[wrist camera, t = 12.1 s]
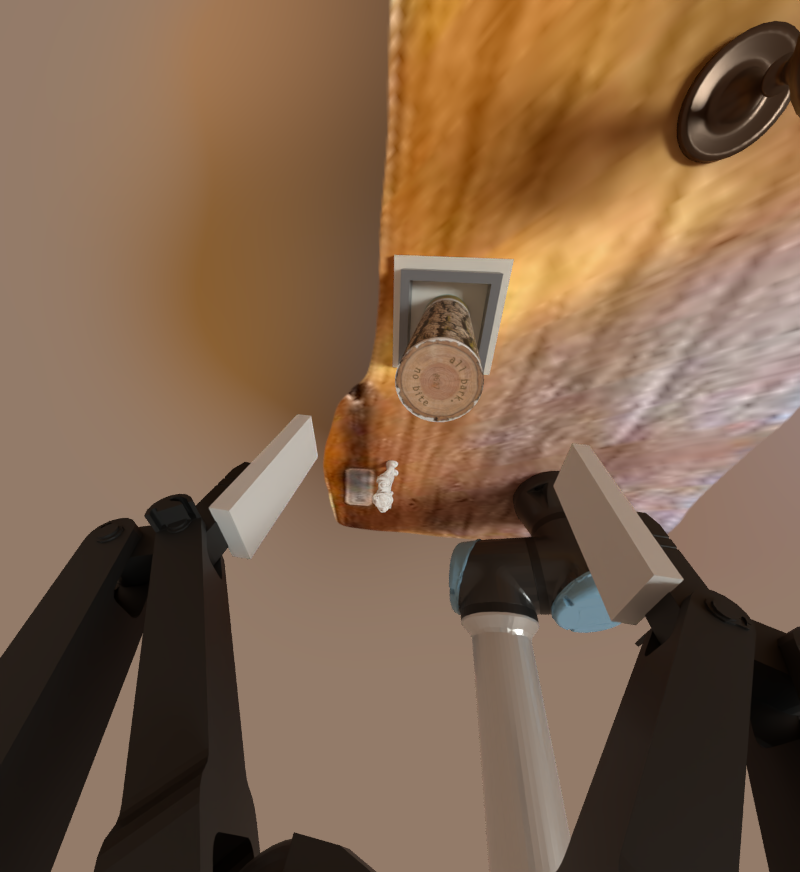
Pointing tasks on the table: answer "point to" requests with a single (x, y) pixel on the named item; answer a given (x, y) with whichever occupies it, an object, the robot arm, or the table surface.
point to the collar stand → (456, 276)
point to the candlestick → (741, 93)
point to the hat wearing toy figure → (385, 487)
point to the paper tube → (441, 364)
